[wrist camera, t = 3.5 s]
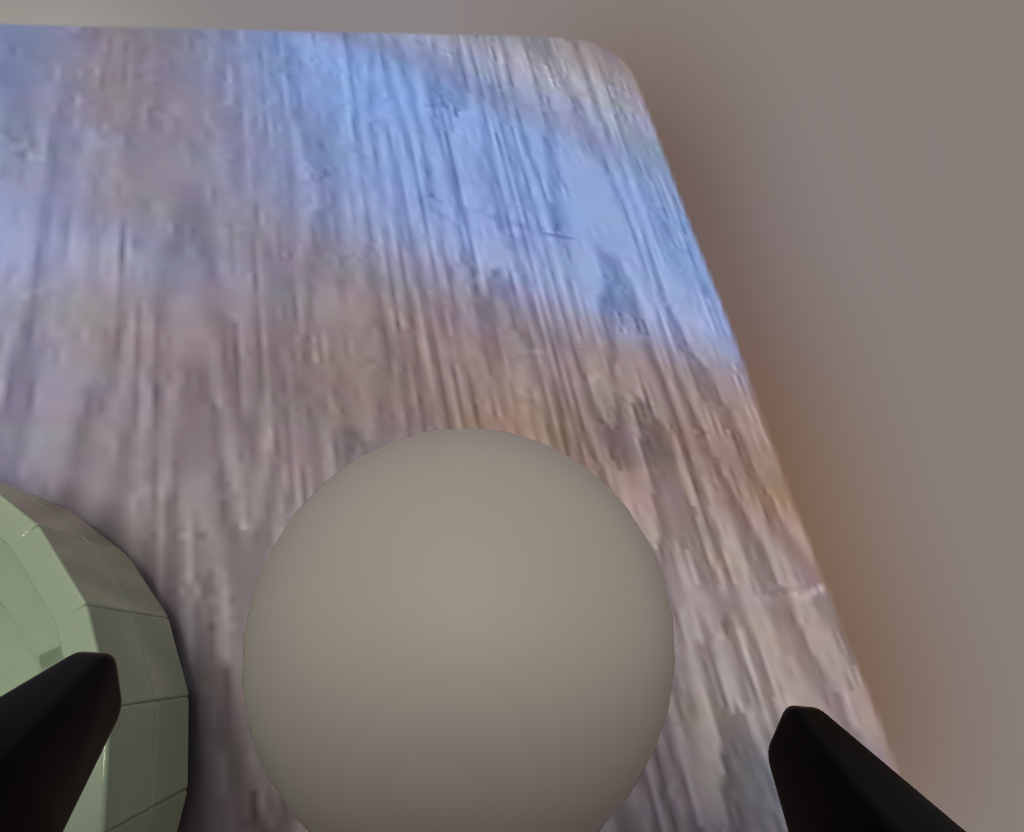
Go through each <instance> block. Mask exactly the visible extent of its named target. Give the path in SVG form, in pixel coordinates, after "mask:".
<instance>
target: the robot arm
mask: <svg viewBox="0 0 1024 832" xmlns="http://www.w3.org/2000/svg"><path fill="white" fill-rule="evenodd" d="M121 703H122V699H121V691H120V685H119V678H118V671H117V664H116V660H115V658H114V657H113V656H112V655H111V654H108V653H97V652H77V653H74V654H72V655H70V656H68V657H66V658H64V659H63V660H61V661H59V662H58V663H56V664H54V665H53V666H51V667H49V668H48V669H46V670H44V671H43V672H41V673H39V674H37V675H36V676H34V677H32V678H31V679H29V680H27V681H26V682H24V683H22V684H21V685H19V686H17V687H16V688H14V689H12V690H11V691H9V692H7V693H6V694H4V695H2V696H0V832H63V831H64V829H65V827H66V825H67V823H68V821H69V819H70V816H71V814H72V812H73V810H74V808H75V806H76V804H77V802H78V800H79V798H80V796H81V794H82V792H83V790H84V788H85V786H86V784H87V782H88V780H89V777H90V775H91V773H92V771H93V769H94V767H95V765H96V763H97V761H98V759H99V757H100V755H101V753H102V751H103V749H104V747H105V745H106V743H107V740H108V738H109V736H110V734H111V732H112V730H113V728H114V726H115V724H116V722H117V720H118V717H119V714H120V710H121ZM768 757H769V764H770V768H771V772H772V775H773V779H774V782H775V786H776V789H777V793H778V796H779V800H780V803H781V807H782V810H783V814H784V817H785V821H786V824H787V828H788V831H789V832H966V831H964V830H963V829H962V828H961V827H960V826H958V825H957V824H956V823H955V822H954V821H952V820H951V819H950V818H949V817H948V816H947V815H945V814H944V813H943V812H942V811H941V810H939V809H938V808H937V807H936V806H935V805H933V804H932V803H931V802H930V801H929V800H927V799H926V798H925V797H924V796H923V795H921V794H920V793H919V792H918V791H917V790H916V789H914V788H913V787H912V786H911V785H910V784H909V783H907V782H906V781H905V780H904V779H903V778H901V777H900V776H899V775H898V774H897V773H895V772H894V771H893V770H892V769H891V768H889V767H888V766H887V765H886V764H885V763H884V762H882V761H881V760H880V759H879V758H878V757H876V756H875V755H874V754H873V753H872V752H870V751H869V750H868V749H867V748H866V747H865V746H863V745H862V744H861V743H860V742H859V741H857V740H856V739H855V738H854V737H853V736H851V735H850V734H849V733H848V732H847V731H846V730H844V729H843V728H842V727H841V726H840V725H838V724H837V723H836V722H835V721H834V720H832V719H831V718H830V717H829V716H828V715H827V714H825V713H824V712H823V711H821V710H819V709H817V708H814V707H803V706H789V707H788V708H787V709H785V711H784V712H783V715H782V717H781V719H780V722H779V724H778V726H777V728H776V731H775V733H774V735H773V738H772V740H771V742H770V745H769V751H768Z"/></svg>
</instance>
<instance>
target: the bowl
mask: <svg viewBox="0 0 1024 832" xmlns="http://www.w3.org/2000/svg"><path fill="white" fill-rule="evenodd" d="M77 652H97V653H108V654H111V655H112V656H113V657H114V658H115V660H116V664H117V671H118V678H119V685H120V691H121V699H122V703H121V710H120V714H119V717H118V720H117V722H116V724H115V726H114V728H113V730H112V732H111V734H110V736H109V738H108V740H107V743H106V745H105V747H104V749H103V751H102V753H101V755H100V757H99V759H98V761H97V763H96V765H95V767H94V769H93V771H92V773H91V775H90V777H89V780H88V782H87V784H86V786H85V788H84V790H83V792H82V794H81V796H80V798H79V800H78V802H77V804H76V806H75V808H74V810H73V812H72V814H71V816H70V819H69V821H68V823H67V825H66V827H65V829H64V831H63V832H177V830H178V826H179V822H180V818H181V814H182V810H183V806H184V802H185V798H186V794H187V790H185V789H186V788H187V785H188V704H189V699H188V697H186V696H187V695H188V690H187V686H186V682H185V679H184V675H183V671H182V667H181V664H180V660H179V656H178V653H177V649H176V645H175V642H174V638H173V634H172V630H171V627H170V623H169V620H168V618H167V615H166V613H165V612H164V610H163V609H162V607H161V606H160V604H159V602H158V601H157V599H156V598H155V596H154V595H153V593H152V592H151V590H150V589H149V587H148V585H147V584H146V582H145V581H144V579H143V578H142V576H141V575H140V573H139V572H138V570H137V569H136V567H135V565H134V564H133V562H132V561H131V559H130V558H129V557H127V556H126V555H125V553H124V552H122V551H121V550H120V549H119V548H117V547H116V546H115V545H114V544H112V543H111V542H110V541H109V540H107V539H106V538H105V537H104V536H102V535H101V534H100V533H98V532H97V531H96V530H95V529H93V528H92V527H91V526H90V525H88V524H87V523H86V522H85V521H83V520H82V519H81V518H79V517H78V516H77V515H76V514H74V513H72V512H70V511H69V510H67V509H65V508H62V507H60V506H57V505H55V504H53V503H50V502H48V501H45V500H43V499H41V498H38V497H36V496H33V495H31V494H29V493H26V492H24V491H21V490H19V489H17V488H14V487H12V486H9V485H7V484H5V483H2V482H0V696H2V695H4V694H6V693H7V692H9V691H11V690H12V689H14V688H16V687H17V686H19V685H21V684H22V683H24V682H26V681H27V680H29V679H31V678H32V677H34V676H36V675H37V674H39V673H41V672H43V671H44V670H46V669H48V668H49V667H51V666H53V665H54V664H56V663H58V662H59V661H61V660H63V659H64V658H66V657H68V656H70V655H72V654H74V653H77Z"/></svg>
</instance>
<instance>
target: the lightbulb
mask: <svg viewBox="0 0 1024 832" xmlns="http://www.w3.org/2000/svg"><path fill="white" fill-rule="evenodd" d="M674 664H675V656H674V634H673V617H672V613H671V609H670V604H669V600H668V595H667V591H666V586H665V582H664V578H663V575H662V573H661V571H660V568H659V566H658V563H657V561H656V559H655V556H654V554H653V551H652V549H651V547H650V544H649V542H648V540H647V538H646V537H645V535H644V534H643V532H642V531H641V529H640V528H639V526H638V524H637V523H636V521H635V520H634V518H633V517H632V515H631V513H630V512H629V510H628V509H627V508H626V507H625V505H624V504H623V503H622V502H621V501H620V500H619V499H618V498H617V497H616V496H615V495H614V494H613V492H612V491H611V490H610V489H609V488H608V487H607V486H606V485H605V484H604V483H603V482H602V481H601V480H600V479H599V478H597V477H596V476H595V475H593V474H592V473H591V472H590V471H588V470H587V469H586V468H584V467H583V466H582V465H580V464H579V463H578V462H576V461H575V460H574V459H572V458H570V457H568V456H566V455H565V454H563V453H561V452H559V451H557V450H555V449H553V448H551V447H549V446H547V445H545V444H543V443H541V442H538V441H535V440H531V439H528V438H525V437H521V436H518V435H514V434H511V433H508V432H503V431H493V430H484V429H474V428H462V429H449V430H436V431H430V432H426V433H422V434H418V435H415V436H411V437H407V438H403V439H400V440H396V441H393V442H391V443H389V444H387V445H385V446H383V447H381V448H378V449H376V450H374V451H372V452H370V453H368V454H366V455H364V456H362V457H359V458H358V459H356V460H355V461H353V462H352V463H351V464H349V465H348V466H346V467H345V468H344V469H342V470H341V471H339V472H338V473H337V474H335V475H334V476H333V477H331V478H330V479H328V480H327V481H326V482H325V483H324V484H323V485H322V486H321V487H320V488H319V489H318V490H317V491H316V492H315V493H314V494H313V495H312V496H311V497H310V498H309V499H308V500H307V501H306V502H305V503H304V504H303V505H302V506H301V507H300V508H299V509H298V510H297V511H296V513H295V514H294V516H293V517H292V519H291V520H290V522H289V523H288V525H287V526H286V528H285V529H284V531H283V532H282V534H281V535H280V537H279V538H278V540H277V541H276V543H275V544H274V546H273V547H272V549H271V552H270V554H269V556H268V559H267V561H266V563H265V565H264V568H263V570H262V572H261V575H260V577H259V579H258V582H257V584H256V586H255V589H254V592H253V597H252V601H251V606H250V610H249V614H248V619H247V623H246V628H245V632H244V646H243V676H242V684H243V690H244V696H245V702H246V708H247V714H248V720H249V726H250V732H251V734H252V737H253V739H254V742H255V744H256V747H257V750H258V752H259V755H260V757H261V760H262V762H263V765H264V768H265V770H266V773H267V775H268V777H269V779H270V780H271V782H272V783H273V785H274V786H275V788H276V789H277V791H278V792H279V794H280V795H281V797H282V798H283V800H284V801H285V803H286V804H287V806H288V807H289V809H290V810H291V812H292V813H293V815H294V816H295V818H296V819H297V820H298V821H299V822H300V823H301V824H302V825H303V826H305V827H306V828H307V829H308V830H309V831H310V832H598V831H599V830H600V829H601V828H602V827H603V825H604V824H605V823H606V822H607V821H608V820H609V818H610V817H611V816H612V815H613V814H614V812H615V811H616V810H617V809H618V808H619V806H620V805H621V804H622V803H623V802H624V800H625V799H626V798H627V797H628V796H629V795H630V793H631V792H632V790H633V788H634V786H635V784H636V783H637V781H638V779H639V777H640V775H641V773H642V772H643V770H644V768H645V766H646V764H647V763H648V761H649V759H650V757H651V755H652V753H653V752H654V750H655V747H656V744H657V741H658V738H659V735H660V732H661V729H662V726H663V722H664V719H665V716H666V713H667V710H668V707H669V702H670V694H671V686H672V679H673V671H674Z"/></svg>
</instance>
